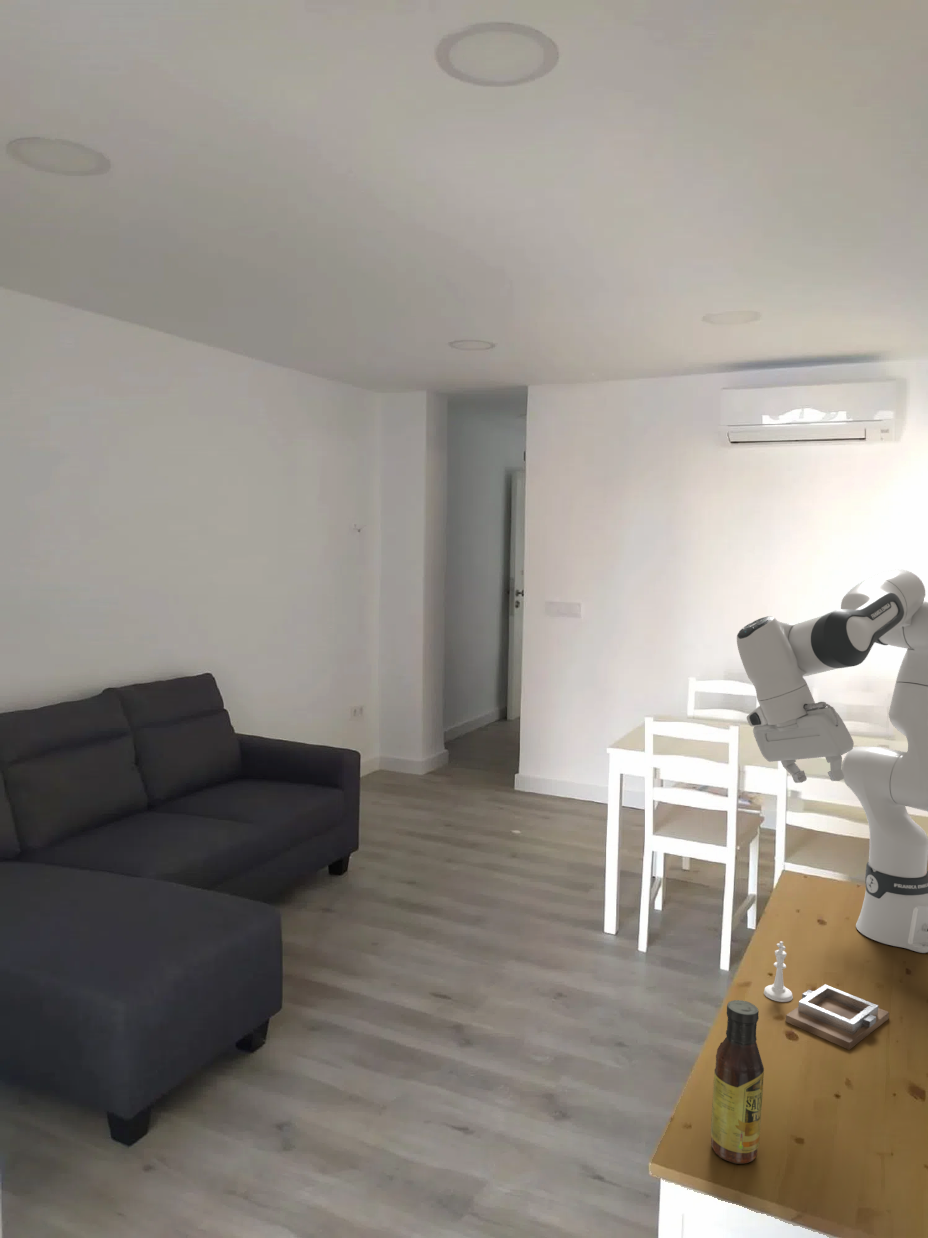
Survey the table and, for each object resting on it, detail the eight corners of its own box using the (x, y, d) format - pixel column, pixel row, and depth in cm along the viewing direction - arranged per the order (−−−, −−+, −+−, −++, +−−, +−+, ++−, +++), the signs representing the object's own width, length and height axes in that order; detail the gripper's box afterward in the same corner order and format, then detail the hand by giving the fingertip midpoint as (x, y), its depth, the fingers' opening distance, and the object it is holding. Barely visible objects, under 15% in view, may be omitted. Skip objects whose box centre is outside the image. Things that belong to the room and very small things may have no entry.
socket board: (785, 1021, 153) (786, 1015, 152) (827, 994, 163) (827, 987, 162) (849, 1050, 144) (849, 1043, 144) (888, 1019, 154) (889, 1012, 154)
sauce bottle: (751, 1174, 115) (760, 1026, 113) (703, 1155, 118) (711, 1012, 117) (764, 1145, 121) (772, 1004, 119) (718, 1128, 124) (725, 991, 122)
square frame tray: (791, 1008, 155) (792, 998, 154) (818, 991, 161) (818, 982, 161) (859, 1038, 146) (860, 1027, 146) (884, 1018, 152) (885, 1008, 152)
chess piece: (778, 1004, 158) (782, 950, 157) (757, 992, 163) (761, 939, 162) (798, 998, 161) (801, 945, 160) (777, 986, 165) (780, 934, 164)
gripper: (843, 693, 149) (876, 771, 148) (765, 707, 168) (794, 776, 167) (815, 707, 147) (849, 786, 146) (740, 719, 166) (769, 789, 165)
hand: (819, 781), depth 157 cm, fingers open, 8 cm apart
